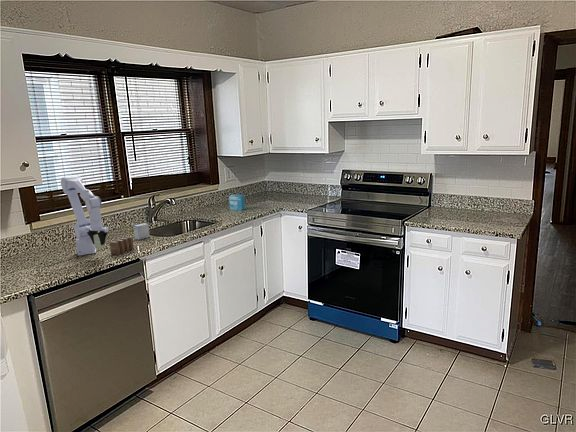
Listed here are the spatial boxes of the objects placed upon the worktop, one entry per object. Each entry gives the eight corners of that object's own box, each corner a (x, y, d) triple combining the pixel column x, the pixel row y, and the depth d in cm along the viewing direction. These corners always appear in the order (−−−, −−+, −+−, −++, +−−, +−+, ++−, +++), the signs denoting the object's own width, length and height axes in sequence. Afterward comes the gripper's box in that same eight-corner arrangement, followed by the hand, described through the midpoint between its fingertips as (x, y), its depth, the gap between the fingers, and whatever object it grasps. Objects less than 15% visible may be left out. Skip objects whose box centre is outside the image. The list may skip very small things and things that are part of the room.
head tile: (131, 249, 249) (130, 237, 248) (125, 248, 251) (123, 237, 250) (133, 248, 251) (132, 236, 249) (127, 247, 253) (125, 236, 251)
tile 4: (117, 254, 240) (116, 242, 238) (111, 254, 242) (109, 241, 240) (120, 253, 241) (118, 241, 240) (113, 253, 243) (111, 241, 242)
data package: (229, 209, 354) (228, 195, 351) (232, 208, 358) (231, 194, 355) (242, 210, 348) (241, 195, 346) (245, 209, 352) (244, 194, 350)
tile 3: (122, 252, 243) (121, 240, 241) (115, 252, 245) (114, 240, 243) (124, 252, 244) (123, 240, 243) (118, 251, 246) (116, 239, 245)
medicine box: (145, 236, 279) (144, 223, 277) (149, 237, 276) (148, 223, 274) (134, 238, 273) (133, 225, 271) (138, 239, 270) (137, 226, 268)
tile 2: (127, 251, 246) (126, 239, 245) (120, 250, 248) (119, 238, 247) (129, 250, 248) (128, 238, 246) (122, 249, 250) (121, 237, 248)
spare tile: (101, 248, 234) (100, 235, 233) (94, 247, 236) (93, 235, 235) (104, 247, 236) (102, 235, 234) (97, 246, 238) (95, 234, 236)
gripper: (79, 220, 232) (83, 245, 235) (100, 222, 226) (103, 247, 229) (90, 217, 238) (93, 241, 241) (110, 219, 232) (113, 243, 235)
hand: (98, 244), depth 235 cm, fingers closed on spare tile, 5 cm apart
